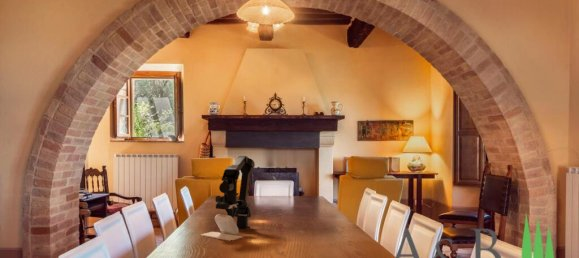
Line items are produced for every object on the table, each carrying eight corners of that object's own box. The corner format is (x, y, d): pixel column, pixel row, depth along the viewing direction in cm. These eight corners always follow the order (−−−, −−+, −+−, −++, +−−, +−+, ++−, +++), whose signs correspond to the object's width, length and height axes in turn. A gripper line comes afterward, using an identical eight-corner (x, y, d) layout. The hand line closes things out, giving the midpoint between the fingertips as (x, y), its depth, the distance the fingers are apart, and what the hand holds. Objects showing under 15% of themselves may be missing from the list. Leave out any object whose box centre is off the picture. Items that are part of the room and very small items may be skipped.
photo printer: (240, 229, 236) (231, 213, 230) (236, 235, 233) (227, 219, 227) (224, 227, 241) (215, 211, 235) (220, 233, 238) (211, 217, 232)
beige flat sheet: (212, 232, 240) (212, 231, 240) (242, 237, 229) (242, 236, 229) (200, 235, 232) (200, 234, 232) (230, 240, 222) (230, 239, 222)
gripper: (230, 188, 250) (230, 216, 249) (208, 191, 234) (207, 221, 233) (246, 190, 244) (246, 218, 243) (224, 193, 228) (223, 223, 228)
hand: (230, 220), depth 237 cm, fingers closed
